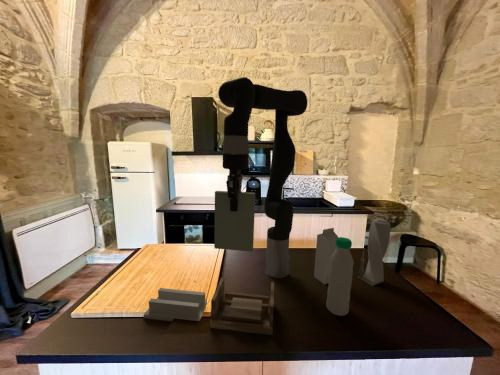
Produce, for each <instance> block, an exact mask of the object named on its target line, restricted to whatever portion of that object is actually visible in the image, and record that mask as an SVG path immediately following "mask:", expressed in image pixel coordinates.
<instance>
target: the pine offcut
mask: <svg viewBox="0 0 500 375" xmlns="http://www.w3.org/2000/svg"><path fill="white" fill-rule="evenodd" d="M261 312H262V300H254V299H244V298H234V297H233V300H232V303H231V306H230V317H239V318H248V319H257V320H261Z"/></svg>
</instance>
